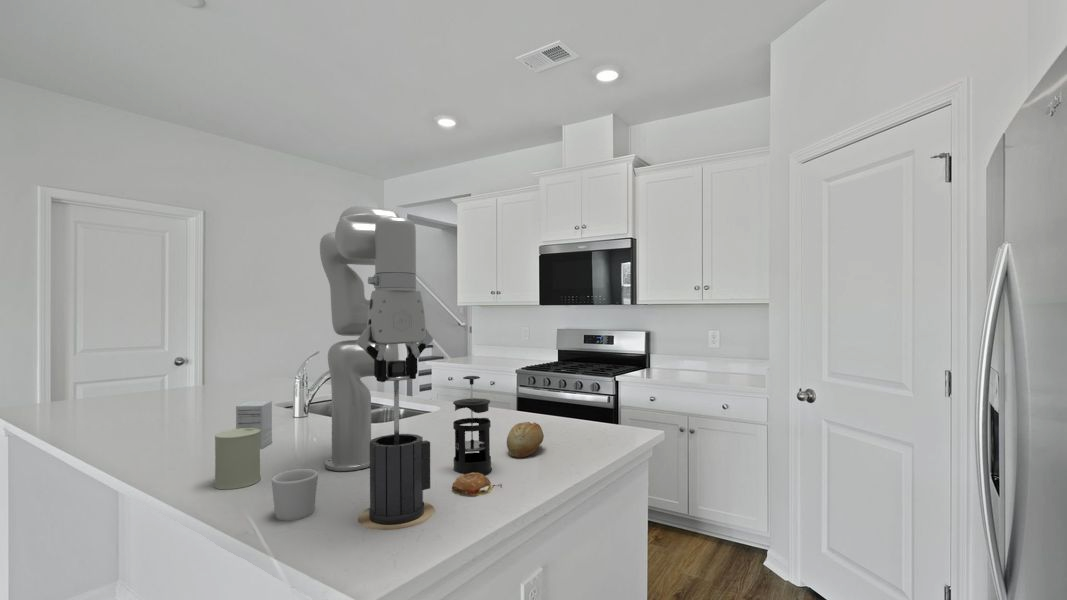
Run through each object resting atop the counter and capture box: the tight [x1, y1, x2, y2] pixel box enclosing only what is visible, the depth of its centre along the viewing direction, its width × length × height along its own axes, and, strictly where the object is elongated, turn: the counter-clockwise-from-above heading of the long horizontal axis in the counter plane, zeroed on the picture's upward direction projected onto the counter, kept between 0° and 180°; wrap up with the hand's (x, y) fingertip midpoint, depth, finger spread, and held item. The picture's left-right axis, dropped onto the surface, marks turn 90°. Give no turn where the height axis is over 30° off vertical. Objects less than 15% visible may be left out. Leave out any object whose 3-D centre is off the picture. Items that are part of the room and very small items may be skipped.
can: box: [213, 428, 262, 491], centre depth 116 cm, size 9×9×12 cm
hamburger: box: [450, 472, 503, 497], centre depth 109 cm, size 14×14×6 cm
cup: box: [271, 468, 319, 521], centre depth 97 cm, size 11×8×8 cm
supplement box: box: [235, 400, 273, 449], centre depth 148 cm, size 7×7×13 cm
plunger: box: [385, 359, 411, 445], centre depth 95 cm, size 6×6×21 cm
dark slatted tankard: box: [368, 433, 431, 525], centre depth 95 cm, size 10×12×14 cm
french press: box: [452, 375, 493, 476], centre depth 123 cm, size 12×9×23 cm
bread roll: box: [506, 421, 544, 459], centre depth 139 cm, size 10×15×8 cm, turn 168°
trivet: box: [357, 501, 436, 531], centre depth 95 cm, size 14×14×1 cm
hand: (396, 378), depth 95 cm, fingers closed on plunger, 5 cm apart
